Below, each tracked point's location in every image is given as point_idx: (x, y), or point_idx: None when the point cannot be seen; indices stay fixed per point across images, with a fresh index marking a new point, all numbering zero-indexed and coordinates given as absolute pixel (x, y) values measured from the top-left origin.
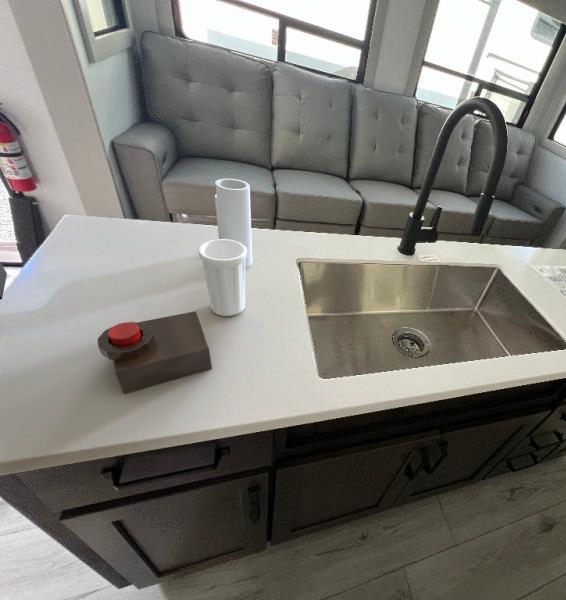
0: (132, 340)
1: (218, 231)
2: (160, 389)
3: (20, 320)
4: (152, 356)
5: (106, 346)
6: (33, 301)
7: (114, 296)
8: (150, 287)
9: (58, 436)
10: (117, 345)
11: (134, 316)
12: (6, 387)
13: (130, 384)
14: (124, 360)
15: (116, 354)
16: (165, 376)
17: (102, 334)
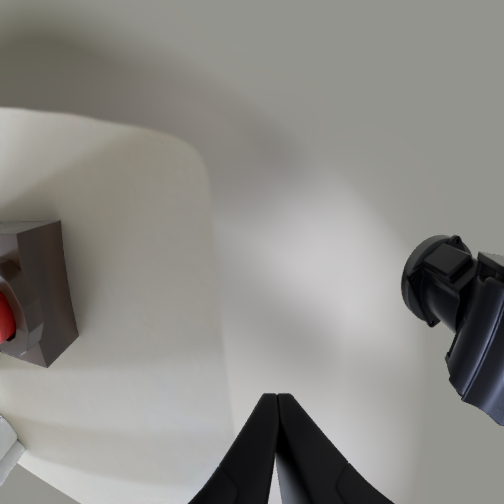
0: None
1: (6, 471)
2: (23, 208)
3: (221, 451)
4: None
5: (12, 300)
6: (211, 473)
7: (114, 446)
8: (77, 440)
9: (140, 160)
10: (2, 295)
11: (77, 398)
12: (221, 324)
13: (37, 224)
14: (8, 260)
15: (1, 270)
16: (7, 224)
17: (26, 341)
